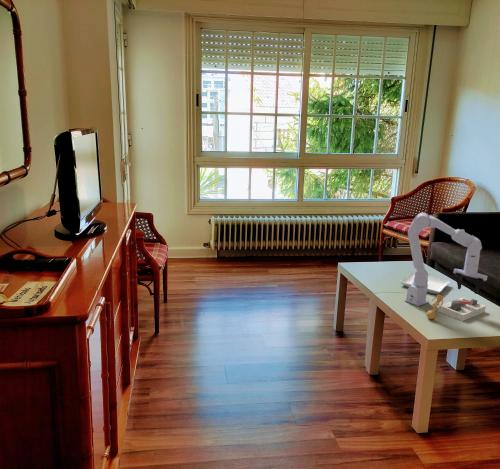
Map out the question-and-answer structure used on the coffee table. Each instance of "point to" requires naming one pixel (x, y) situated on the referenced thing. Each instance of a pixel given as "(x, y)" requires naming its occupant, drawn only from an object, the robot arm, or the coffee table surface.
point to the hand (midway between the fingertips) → (467, 291)
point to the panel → (462, 310)
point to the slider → (474, 302)
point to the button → (456, 305)
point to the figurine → (431, 313)
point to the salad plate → (433, 283)
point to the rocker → (465, 301)
